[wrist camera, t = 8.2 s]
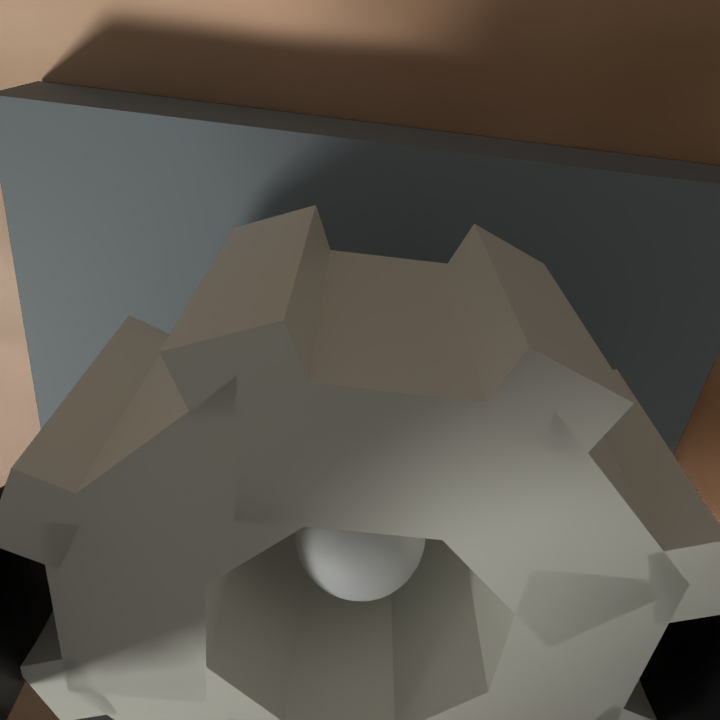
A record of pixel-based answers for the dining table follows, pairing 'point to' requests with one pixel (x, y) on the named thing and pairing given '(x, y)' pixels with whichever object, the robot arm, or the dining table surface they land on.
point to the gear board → (344, 240)
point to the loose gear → (357, 499)
